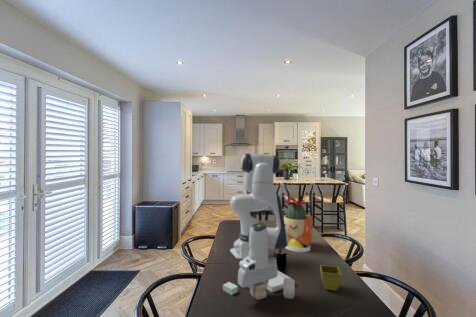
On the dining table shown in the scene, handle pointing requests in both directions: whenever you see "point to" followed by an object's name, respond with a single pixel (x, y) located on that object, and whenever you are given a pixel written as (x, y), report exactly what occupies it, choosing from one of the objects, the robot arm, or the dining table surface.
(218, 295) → the dining table surface
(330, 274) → the flower pot
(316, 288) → the dining table surface
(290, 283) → the white capsule shape
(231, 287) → the green box
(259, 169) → the robot arm
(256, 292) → the oak block
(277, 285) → the tray
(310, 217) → the potted cactus
